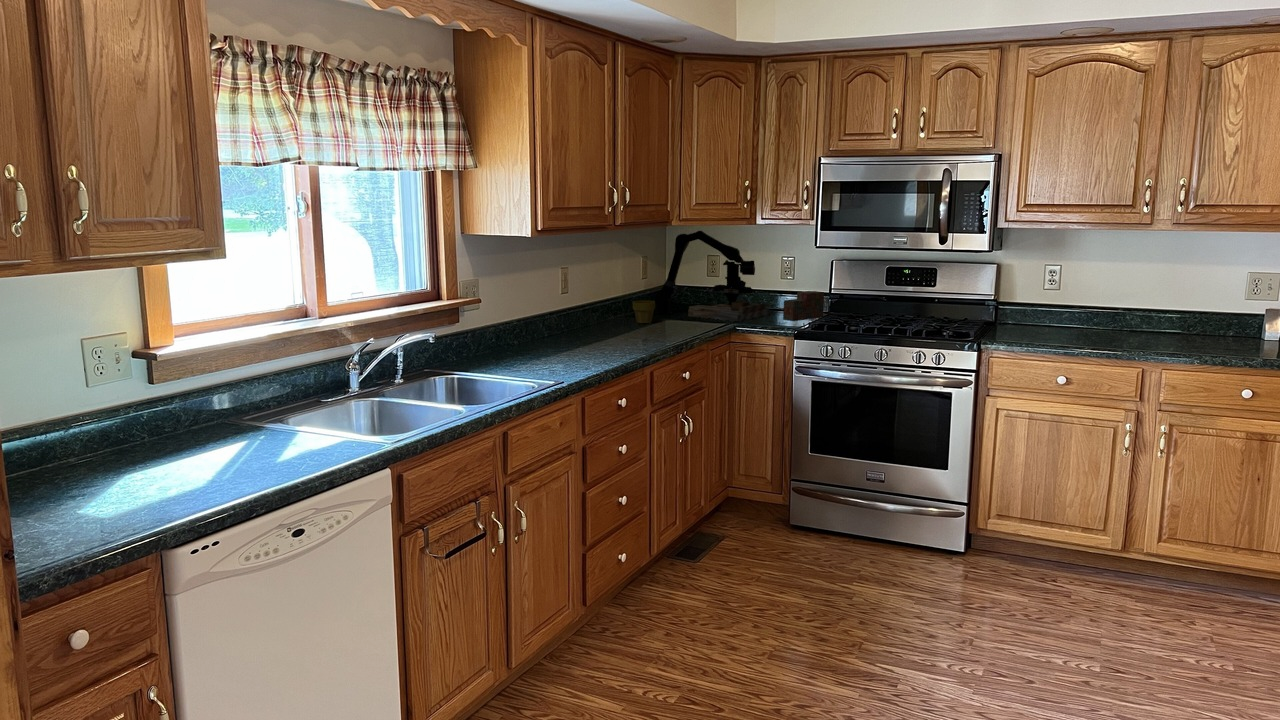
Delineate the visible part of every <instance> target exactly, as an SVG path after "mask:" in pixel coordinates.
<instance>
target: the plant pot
mask: <svg viewBox="0 0 1280 720" xmlns="http://www.w3.org/2000/svg"><path fill="white" fill-rule="evenodd" d="M632 310H633V311H634V315H635V321H636V323H637V322H638V323H650V324H652V323H651V322H653V316H654V313H655V311H654V310H656V301H655V300H634V301H632ZM638 323H637V324H638Z"/></svg>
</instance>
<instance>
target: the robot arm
mask: <svg viewBox="0 0 1280 720" xmlns="http://www.w3.org/2000/svg"><path fill="white" fill-rule="evenodd" d="M697 240H699V241H701V242H702V243H704V244H706V245H708V246H709V247H711V248H713V249H715V250H717V251H718V252H719V253H721V255H723V256H724V257H725V258H726V260H725V261H724V262H723V263H722V265H723V266H726V276H724V277H725V278H724V280H726V284H715V285H713V289H712V290H713V292H720V291H723V293H722V294H723V295H725V298H726V299H727V301H728V305H730V306H732V302H737V299H738V297H739V296H740V295H747V294H752V293H753V288H752V287H751V286H746V284H747V283H746V281H744V280H742V278H741V276H740V273H741V275H743V276H755V274H756V266H755V260H744V259H743V257H742V256H741V252H740V250H739V249H738V248H737V247H734V246H731V245H728V244H725V243H723V242H721V241H720V240H718V239H716V238H715V237H713V236H711V235H709V234H707V233H706V232H704V231H703V230H697V231H696V232H691V233H688V234H687V233H680V234H678V235H677V236H676V238H675V243H674V254H673V257H672V261H671V264H670V268H669V271H668V275H667V277H666V280H665V282H664V283H663V286H662V287H661V290H660V293H659V294H657V296H656V297H655V299H656V311H654V314H658V315H669V314H673V311H671V298H672V297H674V295H675V294H676V293H677V289H678V287H679V285H678V284H676V281H677V280H676V279H677V276H678V273H679V270H680V266H681V262H682V260H683V257H684V256H683V255H684V253H685V251H686V250H687V248H688V246H689V244H690V243H691V242H693V241H697Z"/></svg>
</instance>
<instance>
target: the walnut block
mask: <svg viewBox="0 0 1280 720" xmlns="http://www.w3.org/2000/svg"><path fill="white" fill-rule="evenodd" d="M744 306H750V302H749V301H739V300H738V301H737V300H736V302H732V306H731V311H738V312H739V307H744Z"/></svg>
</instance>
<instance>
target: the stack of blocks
mask: <svg viewBox="0 0 1280 720" xmlns="http://www.w3.org/2000/svg"><path fill="white" fill-rule="evenodd" d="M824 305H825V292H824V291H817V290H808V291H800V292H797V293H796V298H794V299H792V298H791V299H784V300H783V310H782V313H783V314H782V320H784V321H790V322H796V321H805V320H812V319H818V318H819V319H820V318H821V319H822V318H824V310H825V309H824V307H825V306H824Z"/></svg>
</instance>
